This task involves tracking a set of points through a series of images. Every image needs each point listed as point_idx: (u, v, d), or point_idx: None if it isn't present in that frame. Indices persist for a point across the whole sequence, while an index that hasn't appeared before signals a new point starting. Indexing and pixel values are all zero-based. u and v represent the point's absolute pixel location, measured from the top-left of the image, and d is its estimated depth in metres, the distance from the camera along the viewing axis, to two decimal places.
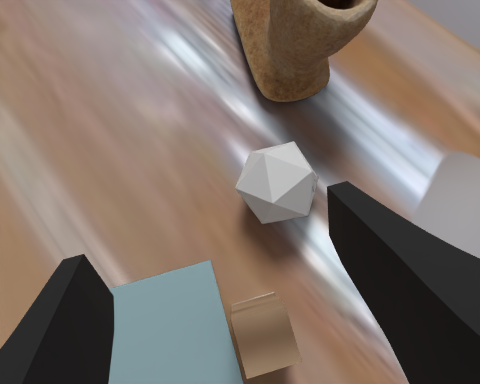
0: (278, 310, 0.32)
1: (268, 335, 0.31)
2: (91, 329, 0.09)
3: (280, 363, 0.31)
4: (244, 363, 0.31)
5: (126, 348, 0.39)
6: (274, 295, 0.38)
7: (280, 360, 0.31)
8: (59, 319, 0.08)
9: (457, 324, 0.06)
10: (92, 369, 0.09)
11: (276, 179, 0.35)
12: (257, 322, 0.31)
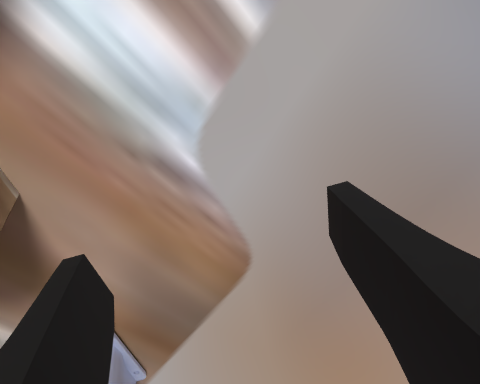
0: None
1: None
2: (91, 329, 0.09)
3: None
4: None
5: None
6: None
7: None
8: (59, 319, 0.08)
9: (457, 324, 0.06)
10: (92, 369, 0.09)
11: None
12: None
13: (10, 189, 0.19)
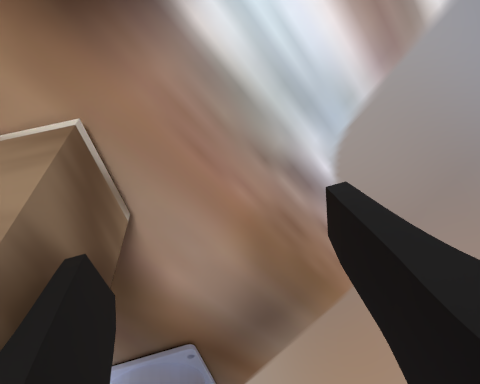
0: None
1: None
2: (93, 328, 0.09)
3: None
4: None
5: None
6: (52, 153, 0.11)
7: None
8: (61, 318, 0.08)
9: (455, 325, 0.06)
10: (94, 368, 0.09)
11: None
12: None
13: (123, 210, 0.16)
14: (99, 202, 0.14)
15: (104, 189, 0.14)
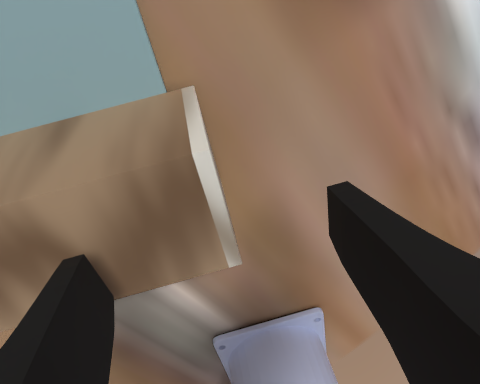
0: None
1: None
2: (91, 329, 0.09)
3: None
4: None
5: None
6: (125, 168, 0.10)
7: None
8: (59, 319, 0.08)
9: (457, 324, 0.06)
10: (92, 369, 0.09)
11: None
12: None
13: (228, 256, 0.13)
14: (175, 234, 0.11)
15: (201, 227, 0.11)
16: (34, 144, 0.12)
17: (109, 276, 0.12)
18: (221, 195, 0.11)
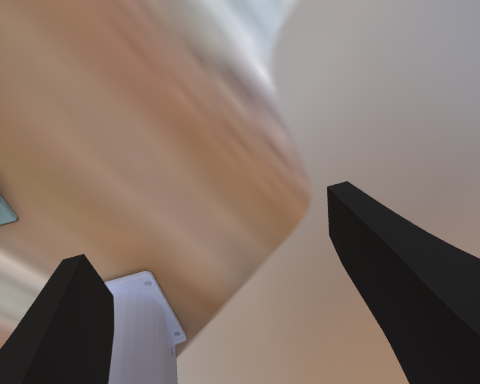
0: None
1: None
2: (91, 329, 0.09)
3: None
4: None
5: None
6: None
7: None
8: (59, 319, 0.08)
9: (458, 324, 0.06)
10: (92, 369, 0.09)
11: None
12: None
13: None
14: None
15: None
16: None
17: None
18: None
